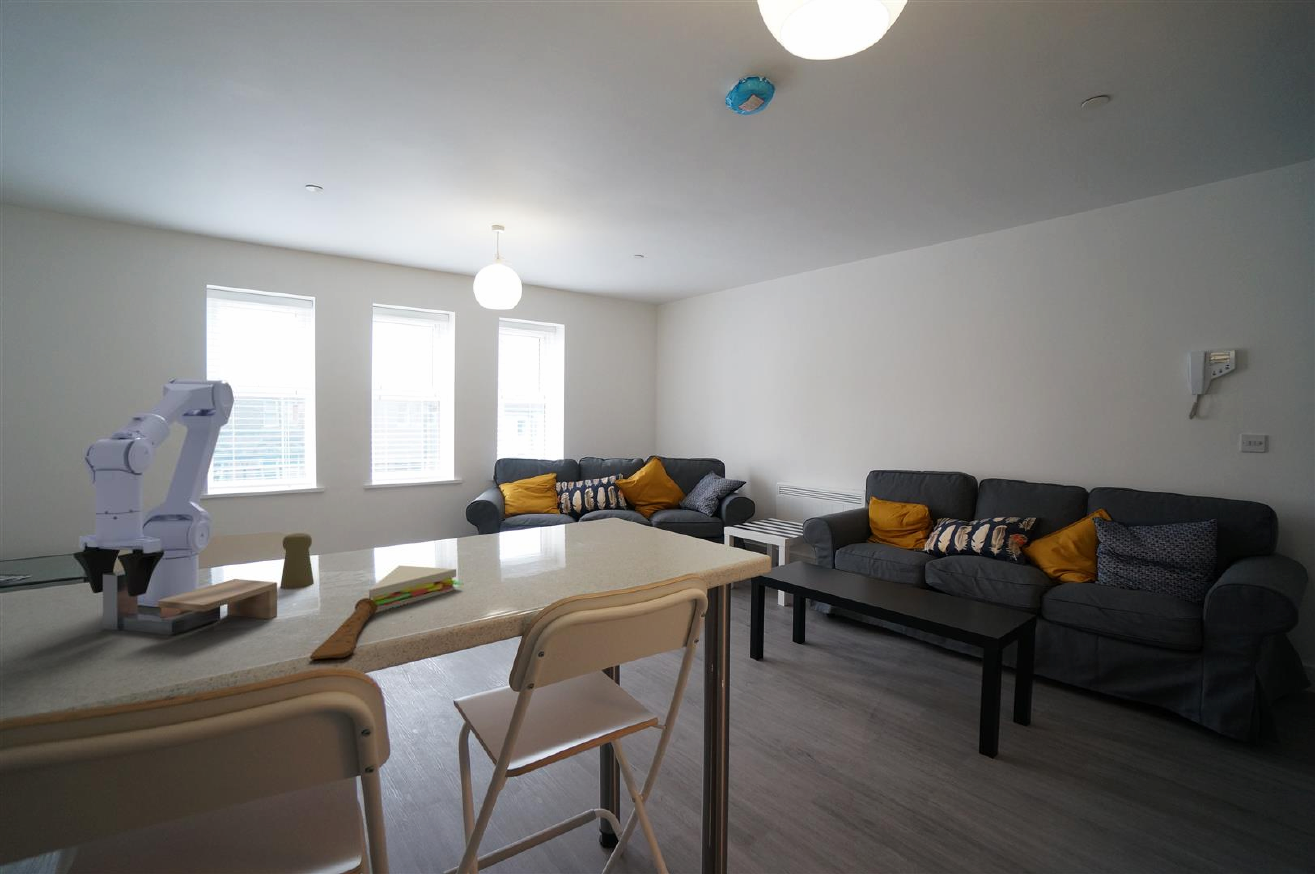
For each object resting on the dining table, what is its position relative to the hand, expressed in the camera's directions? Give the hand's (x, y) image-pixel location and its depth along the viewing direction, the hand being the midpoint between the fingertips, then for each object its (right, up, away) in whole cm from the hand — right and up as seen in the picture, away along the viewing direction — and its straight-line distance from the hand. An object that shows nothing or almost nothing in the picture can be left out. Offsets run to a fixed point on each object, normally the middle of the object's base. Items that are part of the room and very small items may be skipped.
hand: (119, 593), depth 93 cm
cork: (+14, -6, +25) cm, 29 cm away
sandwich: (+39, -7, +17) cm, 43 cm away
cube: (+9, -6, +2) cm, 11 cm away
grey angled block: (+6, -6, +2) cm, 8 cm away
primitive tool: (+35, -5, -6) cm, 36 cm away
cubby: (+16, -6, +1) cm, 17 cm away
